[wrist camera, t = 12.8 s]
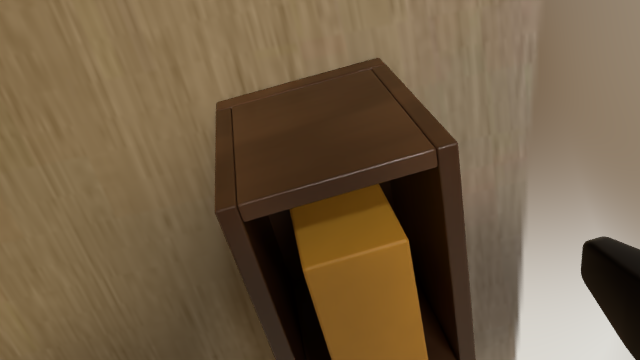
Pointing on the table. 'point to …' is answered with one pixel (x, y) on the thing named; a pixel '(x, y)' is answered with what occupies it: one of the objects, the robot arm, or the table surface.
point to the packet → (360, 276)
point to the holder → (335, 179)
